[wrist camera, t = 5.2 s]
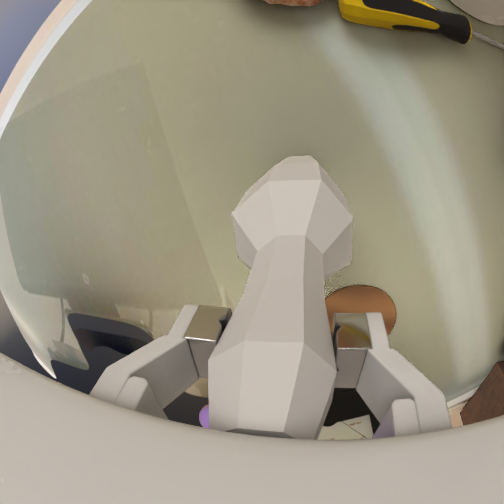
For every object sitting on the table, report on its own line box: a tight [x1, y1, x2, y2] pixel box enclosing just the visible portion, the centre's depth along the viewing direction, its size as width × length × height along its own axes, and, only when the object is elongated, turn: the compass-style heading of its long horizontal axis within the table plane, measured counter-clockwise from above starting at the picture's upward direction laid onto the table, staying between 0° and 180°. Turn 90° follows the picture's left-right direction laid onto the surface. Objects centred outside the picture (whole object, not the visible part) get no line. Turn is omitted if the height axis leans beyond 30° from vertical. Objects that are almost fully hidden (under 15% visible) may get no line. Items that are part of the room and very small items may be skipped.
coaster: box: [325, 285, 396, 336], centre depth 32 cm, size 10×10×1 cm
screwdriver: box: [338, 0, 504, 50], centre depth 14 cm, size 3×3×30 cm
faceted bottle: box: [208, 156, 354, 440], centre depth 15 cm, size 6×6×22 cm
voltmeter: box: [317, 388, 380, 440], centre depth 30 cm, size 16×16×20 cm
